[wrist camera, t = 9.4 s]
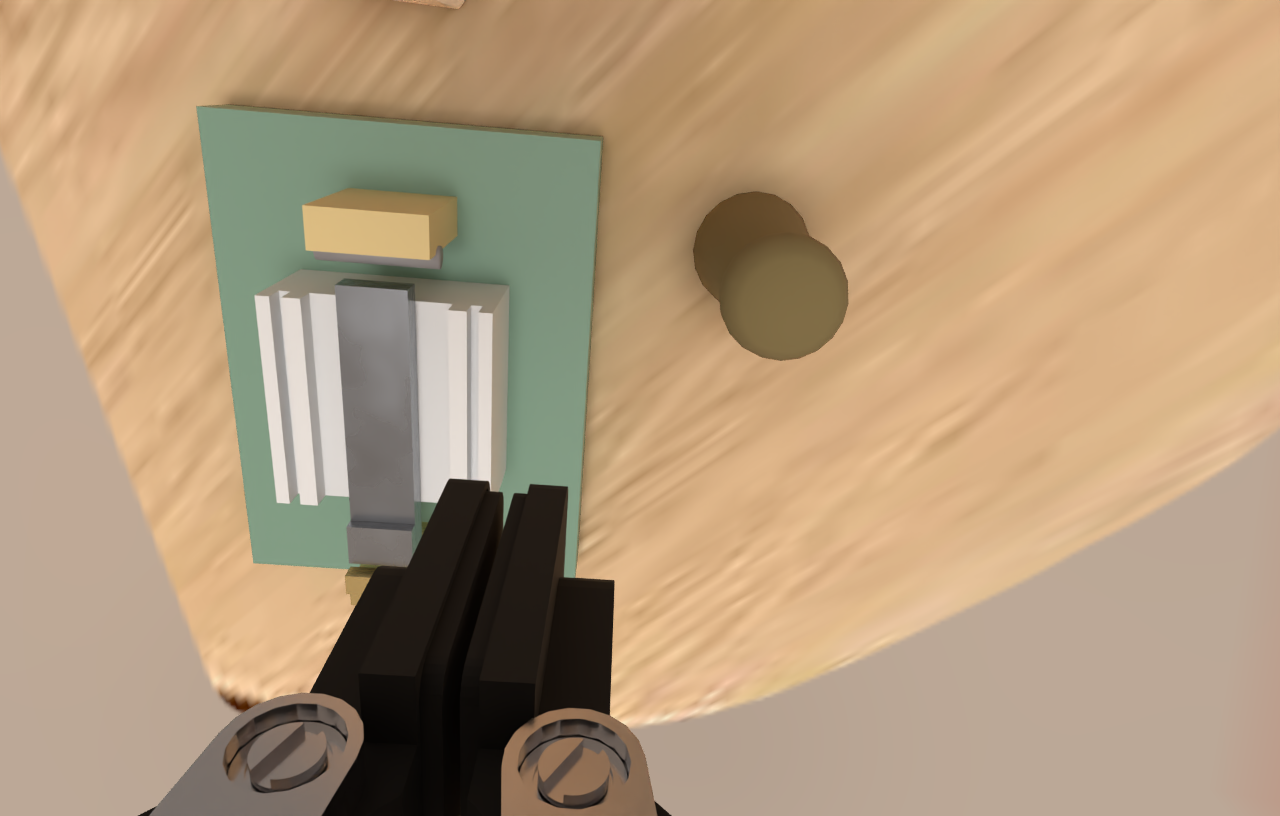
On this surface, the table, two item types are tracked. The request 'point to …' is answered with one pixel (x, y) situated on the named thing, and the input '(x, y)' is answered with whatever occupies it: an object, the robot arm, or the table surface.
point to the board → (495, 245)
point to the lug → (362, 577)
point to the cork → (770, 276)
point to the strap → (380, 419)
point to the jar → (438, 3)
